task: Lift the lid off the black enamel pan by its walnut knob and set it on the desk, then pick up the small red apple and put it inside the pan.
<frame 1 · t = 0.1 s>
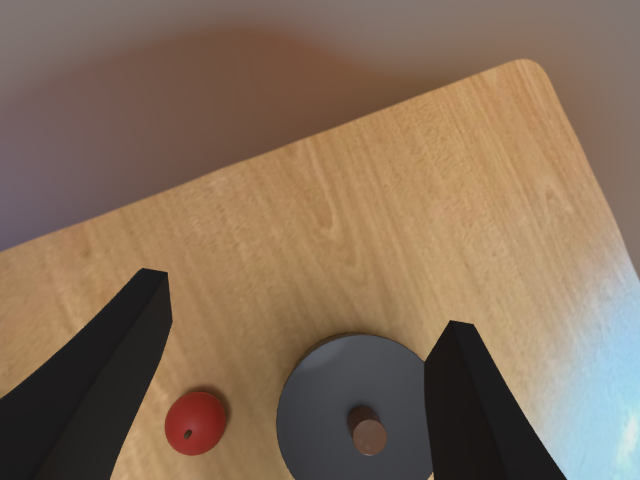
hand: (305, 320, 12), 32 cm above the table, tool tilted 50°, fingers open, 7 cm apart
lid: (361, 420, 37), point 5 cm above the table, touching pan
apple: (195, 422, 39), point 3 cm above the table
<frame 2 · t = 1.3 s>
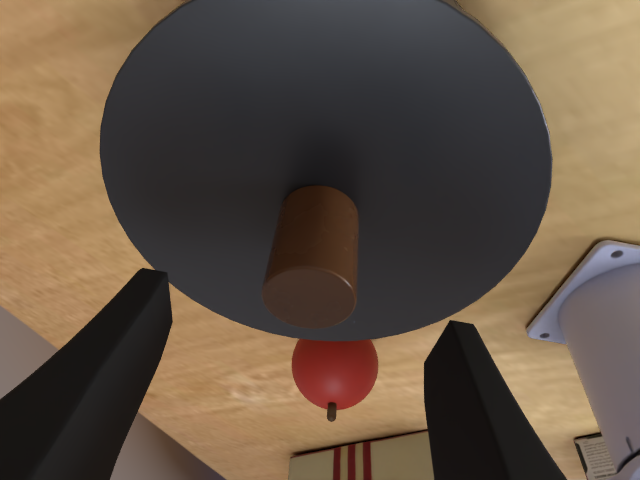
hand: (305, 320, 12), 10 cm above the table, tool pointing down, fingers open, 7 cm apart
lid: (320, 206, 15), point 5 cm above the table, touching pan
apple: (334, 363, 27), point 3 cm above the table
candy bar box: (623, 453, 38), on the table
gift box: (399, 464, 43), on the table
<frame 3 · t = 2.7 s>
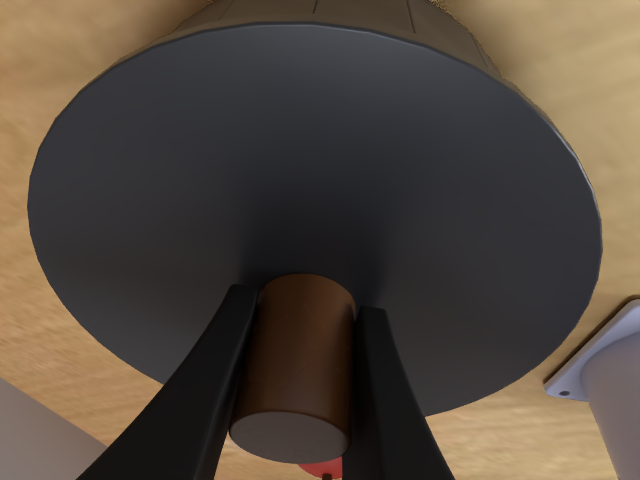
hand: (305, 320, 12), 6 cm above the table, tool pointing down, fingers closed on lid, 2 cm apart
lid: (308, 290, 12), point 5 cm above the table, touching gripper, pan
apple: (330, 424, 24), point 3 cm above the table
pan: (323, 177, 16), on the table
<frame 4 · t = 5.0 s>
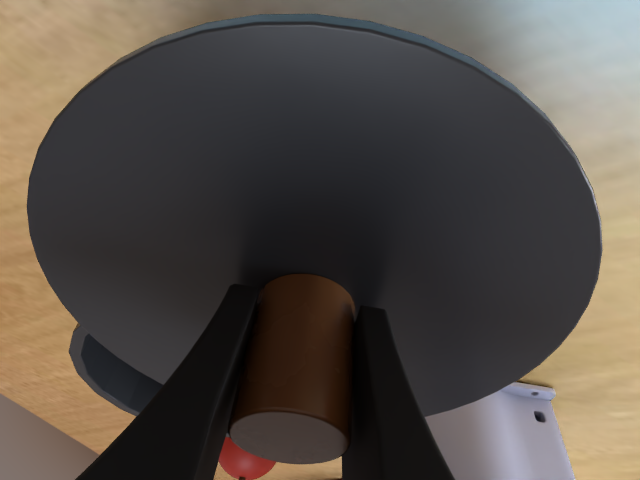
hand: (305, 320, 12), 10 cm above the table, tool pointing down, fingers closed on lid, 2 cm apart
lid: (308, 291, 12), point 9 cm above the table, touching gripper
apple: (249, 443, 35), point 3 cm above the table
pan: (222, 302, 28), on the table
when the fingers open (2 cm above the table, at t = 7.3 s): lid stays where it is, point 1 cm above the table.
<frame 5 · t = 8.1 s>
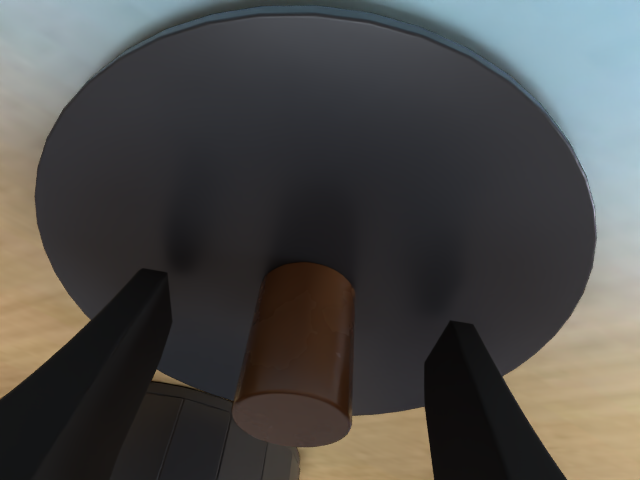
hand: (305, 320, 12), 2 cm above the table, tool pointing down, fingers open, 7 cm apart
lid: (309, 280, 12), point 1 cm above the table
pan: (172, 446, 23), on the table
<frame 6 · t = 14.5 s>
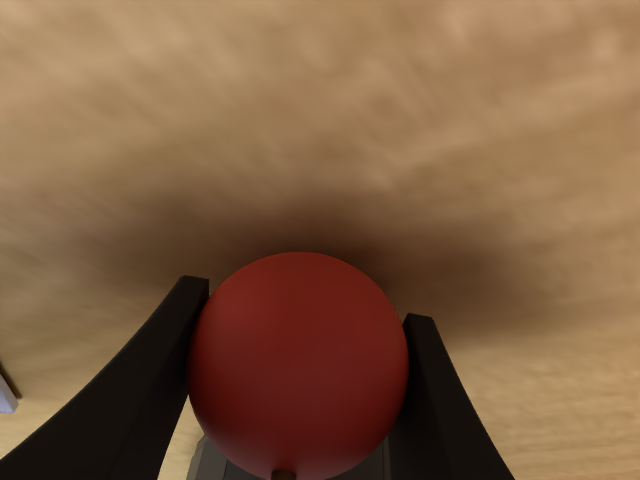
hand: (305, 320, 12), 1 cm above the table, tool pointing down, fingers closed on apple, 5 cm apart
apple: (298, 359, 11), point 3 cm above the table, touching gripper
pan: (327, 473, 22), on the table
when the fingers open (2 cm above the table, at t = 19.7 s): apple stays where it is, resting on pan.
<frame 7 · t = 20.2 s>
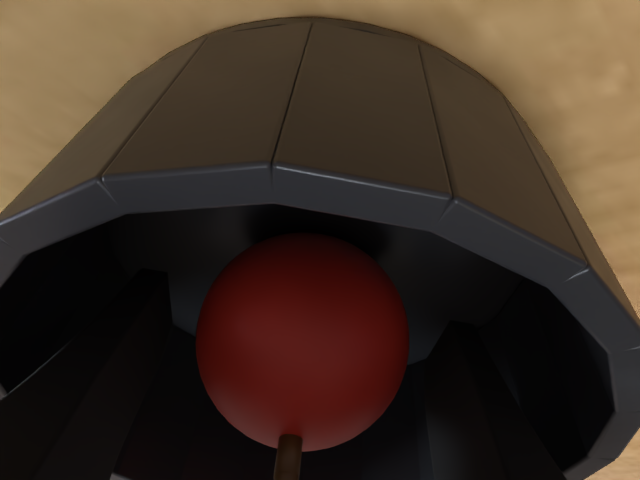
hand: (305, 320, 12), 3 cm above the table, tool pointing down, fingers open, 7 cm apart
apple: (303, 336, 11), point 3 cm above the table, touching pan
pan: (314, 251, 13), on the table
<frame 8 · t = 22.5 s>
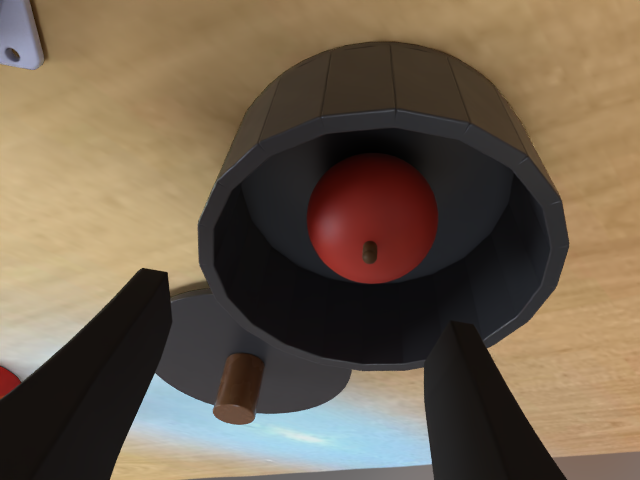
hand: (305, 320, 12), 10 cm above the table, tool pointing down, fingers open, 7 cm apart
lid: (247, 357, 30), point 1 cm above the table
apple: (371, 218, 18), point 3 cm above the table, tilted 17°, touching pan
pan: (372, 188, 21), on the table
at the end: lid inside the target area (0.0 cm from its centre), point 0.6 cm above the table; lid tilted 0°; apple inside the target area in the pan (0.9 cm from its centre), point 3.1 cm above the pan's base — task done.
